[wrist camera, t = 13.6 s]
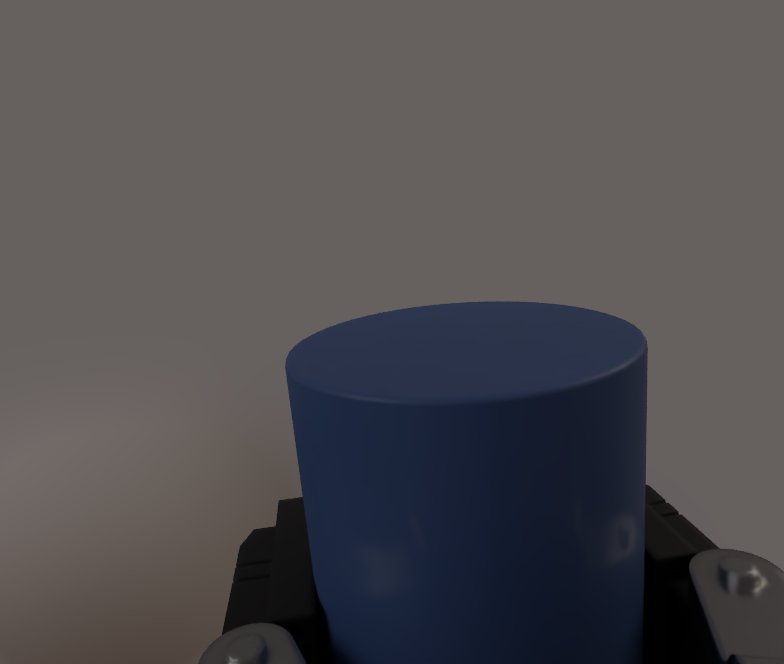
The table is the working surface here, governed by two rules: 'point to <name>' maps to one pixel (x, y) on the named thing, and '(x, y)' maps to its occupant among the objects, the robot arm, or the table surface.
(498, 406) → the blue cylinder
